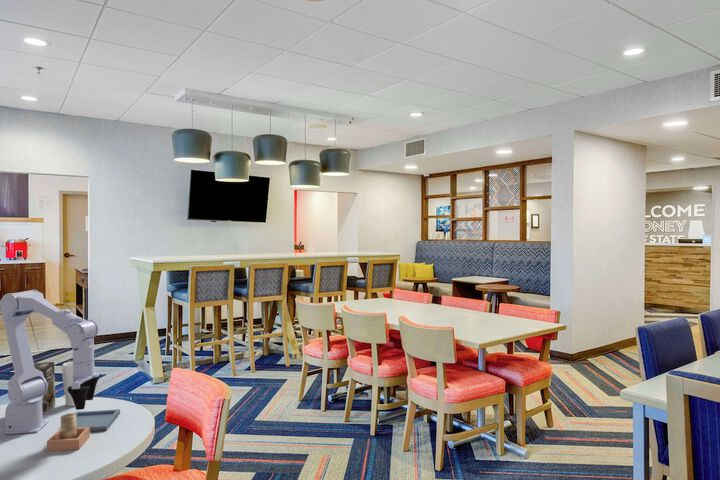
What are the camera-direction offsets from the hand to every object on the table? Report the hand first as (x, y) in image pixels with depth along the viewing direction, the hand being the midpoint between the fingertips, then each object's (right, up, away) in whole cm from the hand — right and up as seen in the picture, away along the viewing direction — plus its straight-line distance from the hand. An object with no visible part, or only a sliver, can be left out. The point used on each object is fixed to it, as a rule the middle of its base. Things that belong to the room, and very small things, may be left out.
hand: (84, 404), depth 154 cm
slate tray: (-4, -10, +11) cm, 15 cm away
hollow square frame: (-2, -11, -4) cm, 12 cm away
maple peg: (-2, -11, -4) cm, 12 cm away
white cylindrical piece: (-19, -9, +28) cm, 35 cm away
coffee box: (-27, -10, +21) cm, 36 cm away
